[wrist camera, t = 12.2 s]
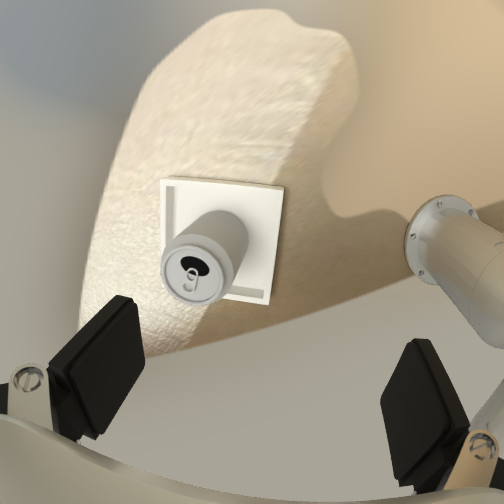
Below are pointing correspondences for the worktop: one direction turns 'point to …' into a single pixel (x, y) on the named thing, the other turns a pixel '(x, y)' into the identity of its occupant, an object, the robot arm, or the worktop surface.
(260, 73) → the worktop surface
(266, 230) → the tray
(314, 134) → the worktop surface
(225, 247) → the can
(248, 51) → the worktop surface
